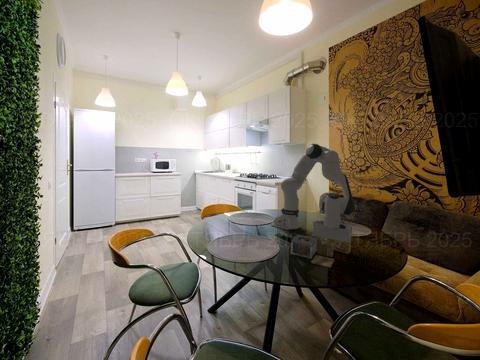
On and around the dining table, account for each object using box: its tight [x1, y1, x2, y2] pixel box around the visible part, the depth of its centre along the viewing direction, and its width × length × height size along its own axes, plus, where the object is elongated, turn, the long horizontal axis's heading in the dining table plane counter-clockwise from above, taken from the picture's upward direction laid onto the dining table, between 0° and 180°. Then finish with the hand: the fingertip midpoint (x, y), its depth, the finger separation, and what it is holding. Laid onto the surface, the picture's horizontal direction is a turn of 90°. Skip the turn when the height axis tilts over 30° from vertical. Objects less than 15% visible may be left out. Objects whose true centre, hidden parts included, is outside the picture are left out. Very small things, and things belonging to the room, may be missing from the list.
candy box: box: [333, 226, 353, 255], centre depth 138 cm, size 9×4×15 cm, turn 50°
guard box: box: [290, 233, 318, 260], centre depth 136 cm, size 12×12×8 cm
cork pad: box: [310, 254, 335, 268], centre depth 125 cm, size 10×10×1 cm
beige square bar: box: [326, 238, 334, 258], centre depth 132 cm, size 3×3×16 cm
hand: (330, 246), depth 132 cm, fingers open, 7 cm apart
